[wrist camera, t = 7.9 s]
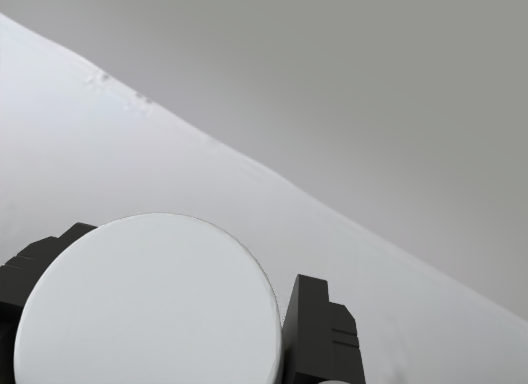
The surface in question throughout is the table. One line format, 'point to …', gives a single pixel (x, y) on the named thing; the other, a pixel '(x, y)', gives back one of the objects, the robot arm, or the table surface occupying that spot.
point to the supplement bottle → (151, 309)
